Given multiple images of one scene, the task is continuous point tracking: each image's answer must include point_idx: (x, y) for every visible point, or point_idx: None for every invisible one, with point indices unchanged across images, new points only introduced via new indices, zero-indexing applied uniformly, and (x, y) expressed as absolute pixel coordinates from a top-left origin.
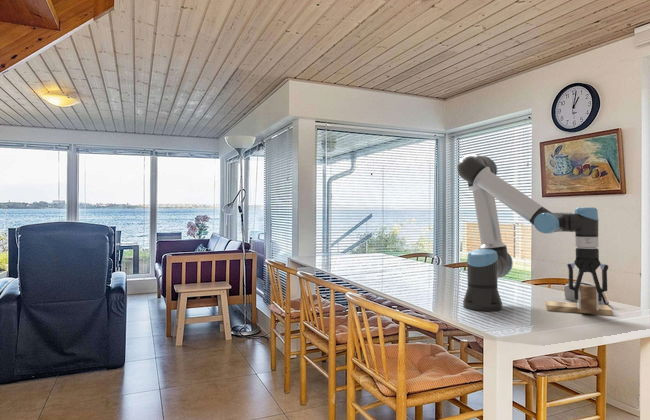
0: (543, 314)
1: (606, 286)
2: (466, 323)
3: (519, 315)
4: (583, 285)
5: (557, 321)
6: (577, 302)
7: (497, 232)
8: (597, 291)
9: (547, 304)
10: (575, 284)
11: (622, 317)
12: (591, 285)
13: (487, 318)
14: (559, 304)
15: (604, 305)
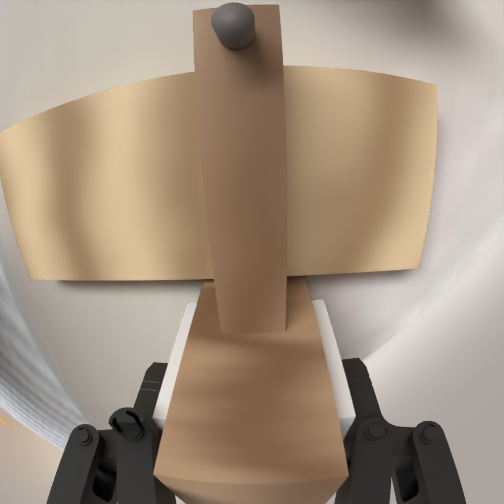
0: (68, 347)
1: (416, 486)
2: (26, 425)
3: (32, 371)
4: (209, 495)
5: None
6: (179, 329)
7: None
8: (347, 443)
9: (23, 252)
10: (126, 486)
11: (431, 279)
12: (308, 485)
13: (17, 400)
14: (67, 219)
15: (418, 104)
